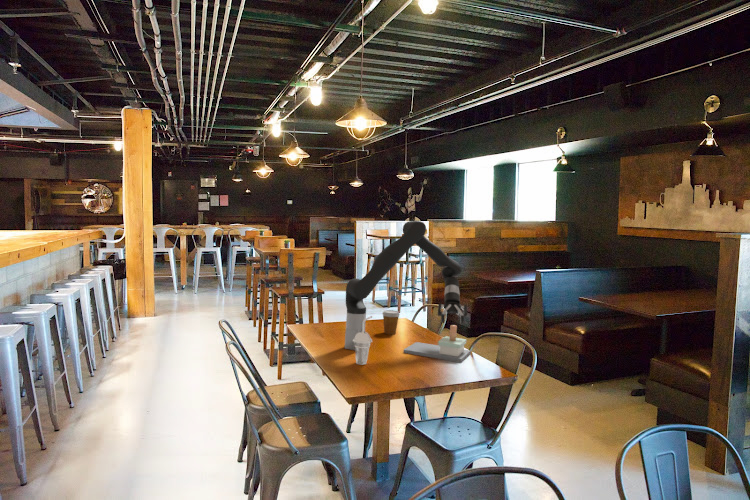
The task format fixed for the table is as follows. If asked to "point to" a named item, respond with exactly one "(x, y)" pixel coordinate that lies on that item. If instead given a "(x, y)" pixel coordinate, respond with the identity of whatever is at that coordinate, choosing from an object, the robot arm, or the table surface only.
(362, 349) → the cup with straw
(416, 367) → the table surface
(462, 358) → the slate board
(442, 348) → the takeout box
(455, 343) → the mint lid
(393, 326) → the disposable coffee cup
